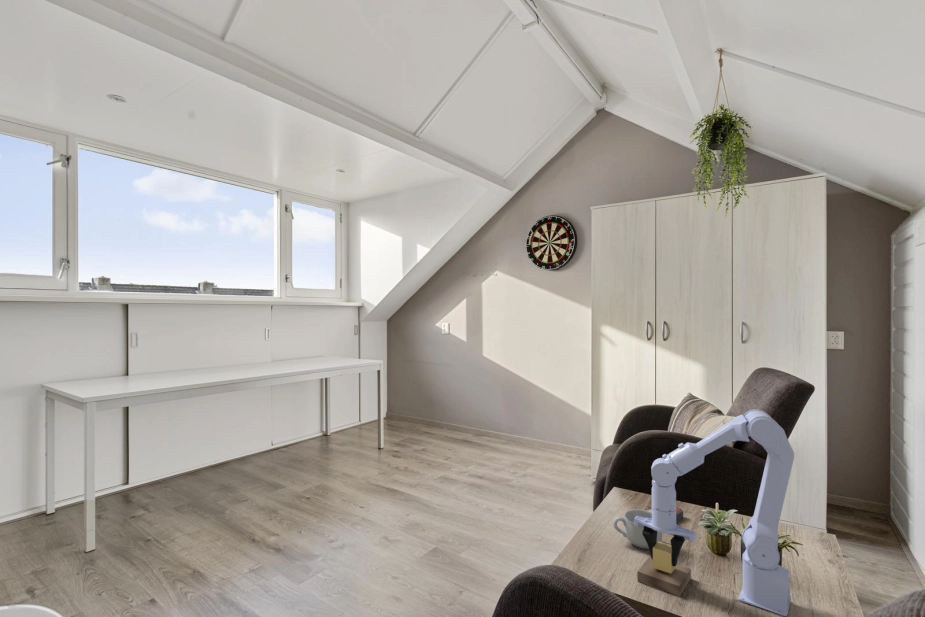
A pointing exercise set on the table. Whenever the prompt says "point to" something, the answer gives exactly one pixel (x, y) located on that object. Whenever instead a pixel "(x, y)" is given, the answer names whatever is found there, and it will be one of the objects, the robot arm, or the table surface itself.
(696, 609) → the table surface
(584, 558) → the table surface
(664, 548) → the mustard block
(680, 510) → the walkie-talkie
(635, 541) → the teacup
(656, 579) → the walnut plinth
